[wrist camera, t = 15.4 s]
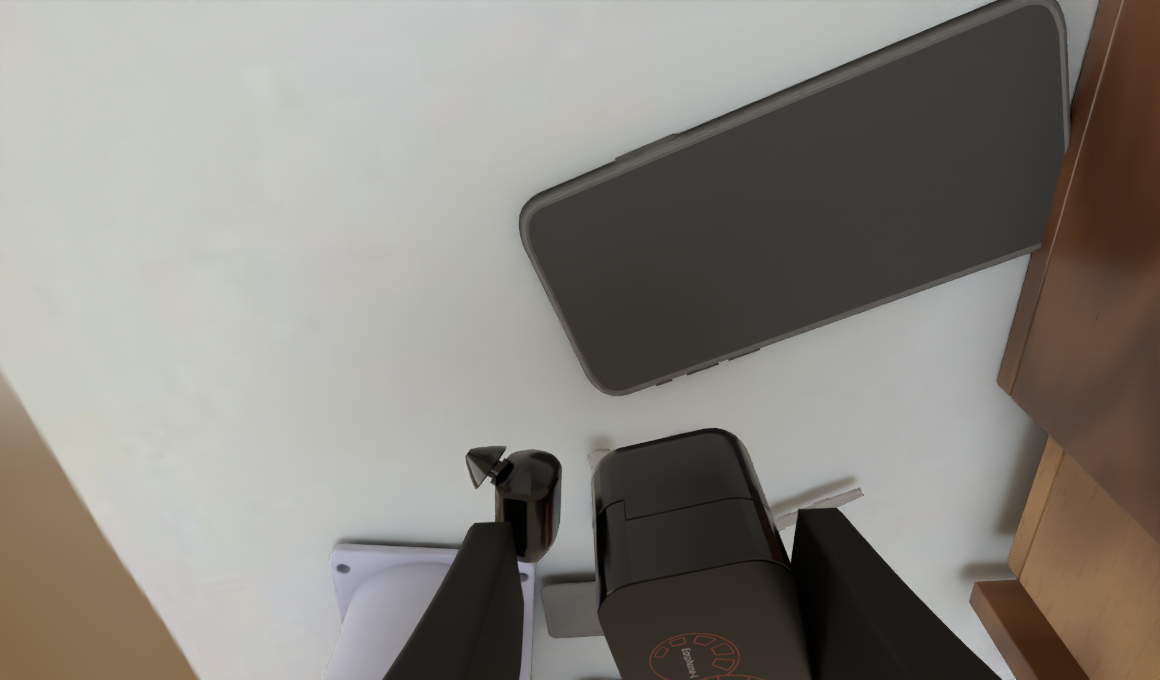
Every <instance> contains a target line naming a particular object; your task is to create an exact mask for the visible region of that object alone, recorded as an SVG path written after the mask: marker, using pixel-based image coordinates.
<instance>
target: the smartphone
mask: <svg viewBox="0 0 1160 680" xmlns="http://www.w3.org/2000/svg"><path fill="white" fill-rule="evenodd" d="M1070 134H1071V128H1070V103H1069V79H1068V54H1067V30H1066V23H1065V19H1064V15H1063V12H1062V10H1061V8H1060V5H1059V4H1058V2H1057V1H1056V0H997V1H994V2H992V3H989V4H987V5H985V6H982V7H980V8H978V9H975V10H973V11H970V12H968V13H966V14H963V15H961V16H959V17H956V18H954V19H951V20H949V21H947V22H944V23H942V24H939V25H937V26H935V27H932V28H930V29H928V30H925V31H923V32H920V33H918V34H916V35H913V36H911V37H909V38H906V39H904V40H901V41H899V42H897V43H894V44H892V45H889V46H887V47H885V48H882V49H880V50H878V51H875V52H873V53H870V54H868V55H866V56H863V57H861V58H859V59H856V60H854V61H851V62H849V63H847V64H844V65H842V66H839V67H837V68H835V69H832V70H830V71H828V72H825V73H823V74H820V75H818V76H816V77H813V78H811V79H809V80H806V81H804V82H801V83H799V84H797V85H794V86H792V87H789V88H787V89H785V90H782V91H780V92H778V93H775V94H773V95H770V96H768V97H766V98H763V99H761V100H759V101H756V102H754V103H751V104H749V105H747V106H744V107H742V108H739V109H737V110H735V111H732V112H730V113H728V114H725V115H723V116H720V117H718V118H716V119H713V120H711V121H709V122H706V123H704V124H701V125H699V126H697V127H694V128H692V129H689V130H687V131H685V132H682V133H680V134H678V135H674V134H672V135H669V136H667V137H665V138H662V139H660V140H658V141H655V142H653V143H651V144H648V145H646V146H643V147H641V148H639V149H636V150H634V151H632V152H629V153H627V154H625V155H622V156H620V157H617V158H615V160H616V161H614V162H611V163H609V164H607V165H604V166H602V167H599V168H597V169H595V170H592V171H590V172H588V173H585V174H583V175H581V176H578V177H576V178H574V179H571V180H569V181H566V182H564V183H562V184H559V185H557V186H555V187H552V188H550V189H548V190H545V191H543V192H540V193H538V194H537V195H535V196H534V197H532V198H531V199H530V200H529V201H528V202H527V203H526V204H525V205H524V206H523V208H522V211H521V213H520V218H519V230H520V236H521V240H522V243H523V246H524V249H525V251H526V253H527V255H528V257H529V259H530V261H531V263H532V265H533V267H534V269H535V271H536V273H537V275H538V277H539V279H540V281H541V283H542V285H543V287H544V290H545V292H546V294H547V296H548V298H549V300H550V302H551V304H552V306H553V308H554V310H555V312H556V314H557V316H558V318H559V320H560V322H561V324H562V327H563V329H564V331H565V333H566V335H567V337H568V339H569V341H570V343H571V345H572V347H573V349H574V351H575V353H576V355H577V357H578V360H579V362H580V364H581V366H582V368H583V370H584V372H585V374H586V376H587V378H588V379H589V380H590V382H591V383H592V384H593V385H594V386H595V387H596V388H597V389H598V390H600V391H602V392H603V393H605V394H608V395H612V396H623V395H627V394H630V393H633V392H636V391H639V390H642V389H645V388H648V387H650V386H653V385H656V386H658V385H661V384H664V383H667V382H670V381H672V379H673V378H676V377H679V376H682V375H685V374H687V375H690V374H693V373H695V372H698V371H701V370H704V369H707V368H710V367H713V366H715V365H718V363H719V362H722V361H725V360H727V359H728V360H729V361H730V360H733V359H735V358H738V357H741V356H744V355H747V354H750V353H753V352H755V351H758V350H760V348H762V347H764V346H767V345H770V344H773V343H776V342H779V341H781V340H784V339H787V338H790V337H793V336H796V335H798V334H801V333H804V332H807V331H810V330H813V329H815V328H818V327H821V326H824V325H827V324H830V323H832V322H835V321H838V320H841V319H844V318H847V317H849V316H852V315H855V314H858V313H861V312H864V311H866V310H869V309H872V308H875V307H878V306H881V305H883V304H886V303H889V302H892V301H895V300H898V299H900V298H903V297H906V296H909V295H912V294H915V293H917V292H920V291H923V290H926V289H929V288H932V287H934V286H937V285H940V284H943V283H946V282H949V281H951V280H954V279H957V278H960V277H963V276H966V275H968V274H971V273H974V272H977V271H980V270H983V269H985V268H988V267H991V266H994V265H997V264H1000V263H1002V262H1005V261H1008V260H1011V259H1014V258H1017V257H1019V256H1022V255H1025V254H1028V253H1031V252H1034V251H1036V250H1039V249H1040V248H1041V242H1042V238H1043V234H1044V231H1045V227H1046V223H1047V219H1048V216H1049V212H1050V208H1051V205H1052V201H1053V197H1054V194H1055V190H1056V186H1057V182H1058V179H1059V175H1060V171H1061V168H1062V164H1063V160H1064V156H1065V153H1066V151H1067V148H1068V146H1069V140H1070Z"/></svg>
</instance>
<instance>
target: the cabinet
mask: <svg viewBox="0 0 1160 680" xmlns="http://www.w3.org/2000/svg"><path fill="white" fill-rule="evenodd" d="M1070 128H1071V134H1070V140H1069V146H1068V148H1067V151H1066V153H1065V156H1064V160H1063V164H1062V168H1061V171H1060V175H1059V179H1058V182H1057V186H1056V190H1055V194H1054V197H1053V201H1052V205H1051V208H1050V212H1049V216H1048V219H1047V223H1046V227H1045V231H1044V234H1043V238H1042V242H1041V248H1040V249H1039V250H1036V251H1034V252H1032V256H1031V260H1030V264H1029V267H1028V271H1027V275H1026V278H1025V282H1024V286H1023V289H1022V293H1021V297H1020V300H1019V304H1018V308H1017V311H1016V315H1015V319H1014V323H1013V326H1012V330H1011V334H1010V337H1009V341H1008V345H1007V348H1006V352H1005V356H1004V359H1003V363H1002V367H1001V370H1000V374H999V378H998V382H997V383H998V385H999V386H1000V387H1001V388H1002V389H1003V390H1004V391H1005V392H1006V393H1007V394H1008V395H1009V396H1011V398H1012V399H1013V400H1014V401H1015V402H1016V403H1017V404H1018V405H1019V406H1020V407H1021V408H1022V409H1023V410H1024V411H1025V412H1026V413H1027V414H1028V415H1029V416H1030V417H1031V418H1032V419H1033V420H1034V421H1035V422H1036V423H1037V424H1038V425H1039V426H1040V427H1041V428H1042V429H1043V430H1044V431H1045V432H1046V433H1047V434H1048V435H1049V436H1050V437H1051V438H1052V439H1053V440H1054V441H1055V442H1056V443H1057V444H1058V445H1059V446H1060V447H1061V448H1062V449H1063V450H1064V451H1065V452H1066V453H1067V454H1068V455H1069V456H1070V457H1071V458H1072V459H1073V460H1074V461H1075V462H1076V463H1077V464H1078V465H1079V466H1080V467H1081V468H1082V469H1083V470H1084V471H1085V472H1086V473H1087V474H1088V475H1089V476H1090V477H1091V478H1092V479H1093V480H1094V481H1095V482H1096V483H1097V484H1098V485H1099V486H1100V487H1101V488H1102V489H1103V490H1104V491H1105V492H1106V493H1107V494H1108V495H1109V496H1110V497H1111V498H1112V499H1113V500H1114V501H1115V502H1116V503H1117V504H1118V505H1119V506H1120V507H1121V508H1122V509H1123V510H1124V511H1125V512H1126V513H1127V514H1128V515H1129V516H1130V517H1131V518H1132V519H1134V520H1135V521H1136V522H1137V523H1138V524H1139V525H1140V526H1141V527H1142V528H1143V529H1144V530H1145V531H1146V532H1147V533H1148V534H1149V535H1150V536H1151V537H1152V538H1153V539H1154V540H1155V541H1156V542H1157V543H1158V544H1159V545H1160V0H1101V2H1100V5H1099V9H1098V13H1097V16H1096V20H1095V24H1094V27H1093V31H1092V35H1091V38H1090V42H1089V46H1088V50H1087V53H1086V57H1085V61H1084V64H1083V68H1082V72H1081V75H1080V79H1079V83H1078V86H1077V90H1076V94H1075V98H1074V101H1073V105H1072V109H1071V112H1070Z"/></svg>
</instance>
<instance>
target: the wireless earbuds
mask: <svg viewBox="0 0 1160 680" xmlns="http://www.w3.org/2000/svg"><path fill="white" fill-rule="evenodd" d="M505 450H506V446H488V447H478V448H474V449H470V451H469V452H468V453H467V455H466V456H465V457H466V464H467V467H468V471H469V474H470V478H471V480H472V483H473V485H474V487H475V489H477V488H478V487H479V486H480V485H481V484H482V482H483V481H484V480H485V478H486V477H487V476H489V477H490V478H492V480H491V482H490V483H492V484H493V485H495V522H509V521H511V524H512V530H513V536H514V543H515V549H516V555H517V561H519V562H522V563H536V562H538V561H539V560H540V559H541V558H542V557H543V556H544V555H545V554H546V553H547V551H548V550H549V549H550V548H551V546H552V545H553V543H554V541H555V539H556V536H557V532H558V528H559V524H560V509H561V480H562V466H561V464H560V462H559V460H558V459H557V458H556V457H555V456H554V455H552V454H550V453H548V452H545V451H540V450H534V449H531V450H523V451H518V452H515V453H512V454H510V455H509V456H508V457H507V459H505V458H504V459H503V461H502V462H501V461H500V460H499V459H500V457H501V456H502V454H503V453H504V451H505ZM591 487H592V509H593V532H594V554H595V576H596V598H597V614H598V621H599V623H600V626H601V628H602V631H603V633H604V636H605V638H606V641H607V643H608V646H609V648H610V651H611V653H612V655H613V658H614V660H615V663H616V665H617V668H618V670H619V673H620V675H621V678H622V680H814V679H813V673H812V667H811V660H810V654H809V648H808V642H807V636H806V630H805V624H804V618H803V612H802V605H801V599H800V593H799V587H798V581H797V579H796V576H795V574H794V571H793V568H792V566H791V563H790V560H789V558H788V555H787V553H786V550H785V547H784V545H783V542H782V539H781V537H780V534H779V532H778V529H777V526H776V524H775V521H774V518H773V516H772V513H771V511H770V508H769V505H768V503H767V500H766V497H765V495H764V492H763V490H762V487H761V484H760V482H759V479H758V476H757V474H756V471H755V468H754V466H753V463H752V461H751V458H750V455H749V453H748V451H747V448H746V447H745V446H744V444H743V443H742V441H741V440H740V439H738V438H737V437H736V436H735V435H734V434H732V433H730V432H728V431H726V430H723V429H718V428H708V429H701V430H696V431H692V432H688V433H683V434H679V435H675V436H670V437H666V438H661V439H657V440H653V441H648V442H644V443H640V444H635V445H631V446H626V447H622V448H618V449H616V450H613V451H611V452H609V453H607V454H606V455H605V456H604V457H602V458H601V460H600V461H599V463H598V464H597V465H596V467H595V470H594V473H593V477H592V482H591Z"/></svg>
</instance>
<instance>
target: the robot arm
mask: <svg viewBox="0 0 1160 680" xmlns="http://www.w3.org/2000/svg"><path fill="white" fill-rule="evenodd" d="M329 559H330V565H331V570H332V576H333V581H334V586H335V592H336V597H337V602H338V608H339V613H340V619H341V624H342V626H341V629H340V632H339V634H338V637H337V640H336V642H335V645H334V648H333V650H332V653H331V656H330V659H329V661H328V664H327V667H326V669H325V672H324V675H323V677H322V680H531V659H532V635H533V611H534V586H535V563H522V562H519V561H517V555H516V549H515V543H514V536H513V530H512V524H511V521H509V522H486V523H474V524H473V525H472V526H471V527H470V528H469V530H468V532H467V534H466V536H465V539H464V541H463V543H462V545H461V547H460V549H443V548H423V547H402V546H382V545H362V544H338V545H335V546H334V547H333V548H332V550H331V553H330V556H329ZM344 564H345V565H344ZM791 566H792V568H793V571H794V574H795V576H796V579H797V581H798V587H799V593H800V599H801V605H802V612H803V618H804V624H805V630H806V636H807V642H808V648H809V654H810V660H811V667H812V673H813V679H814V680H1002V679H1001V678H1000V677H999V676H998V675H997V674H996V673H995V672H994V671H992V670H991V669H990V668H989V667H988V666H987V665H986V664H985V663H984V662H983V661H982V660H981V659H980V658H979V657H978V656H977V655H975V654H974V653H973V652H972V651H971V650H970V649H969V648H968V647H967V646H966V645H965V644H964V643H963V642H962V641H961V640H960V639H959V638H958V637H957V636H956V635H955V634H954V633H953V632H952V631H951V630H950V629H949V628H948V627H947V626H946V625H945V624H944V623H943V622H942V621H941V620H940V619H939V618H938V617H937V616H936V615H935V614H934V613H933V612H932V611H931V610H930V609H929V608H928V607H927V606H926V605H925V603H924V602H923V601H922V600H921V599H920V598H919V597H918V596H917V595H916V594H915V593H914V592H913V591H912V590H911V589H910V588H909V587H908V586H907V585H906V584H905V583H904V582H903V580H902V579H901V578H900V577H899V576H898V575H897V574H896V573H895V572H894V571H893V570H892V568H891V567H890V566H889V565H888V564H887V563H886V562H885V561H884V560H883V559H882V558H881V556H880V555H879V554H878V553H877V552H876V551H875V550H874V549H873V547H872V546H871V545H870V544H869V543H868V542H867V541H866V540H865V538H864V537H863V536H862V535H861V534H860V533H859V532H858V531H857V529H856V528H855V527H854V526H853V525H852V524H851V523H850V521H849V520H848V519H847V518H846V517H845V516H844V515H843V513H842V512H840V511H839V510H838V509H837V508H812V509H798V515H797V522H796V529H795V536H794V543H793V551H792V558H791ZM521 573H525V574H521Z"/></svg>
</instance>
